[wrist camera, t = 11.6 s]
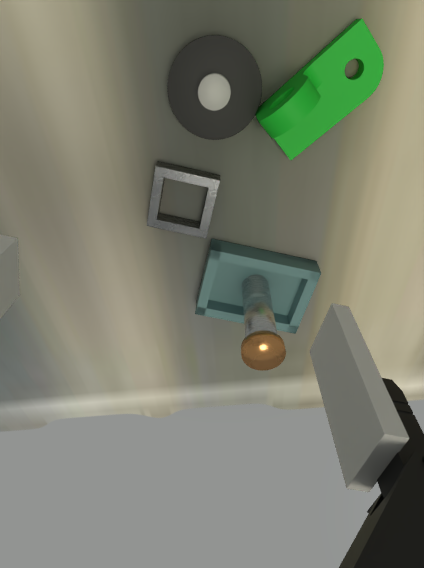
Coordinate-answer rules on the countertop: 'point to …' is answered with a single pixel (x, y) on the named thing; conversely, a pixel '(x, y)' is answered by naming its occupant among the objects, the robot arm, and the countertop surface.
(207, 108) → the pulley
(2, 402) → the countertop surface
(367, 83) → the mechanical part
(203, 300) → the tray
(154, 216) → the grey metal square frame
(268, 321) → the pin
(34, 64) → the countertop surface
